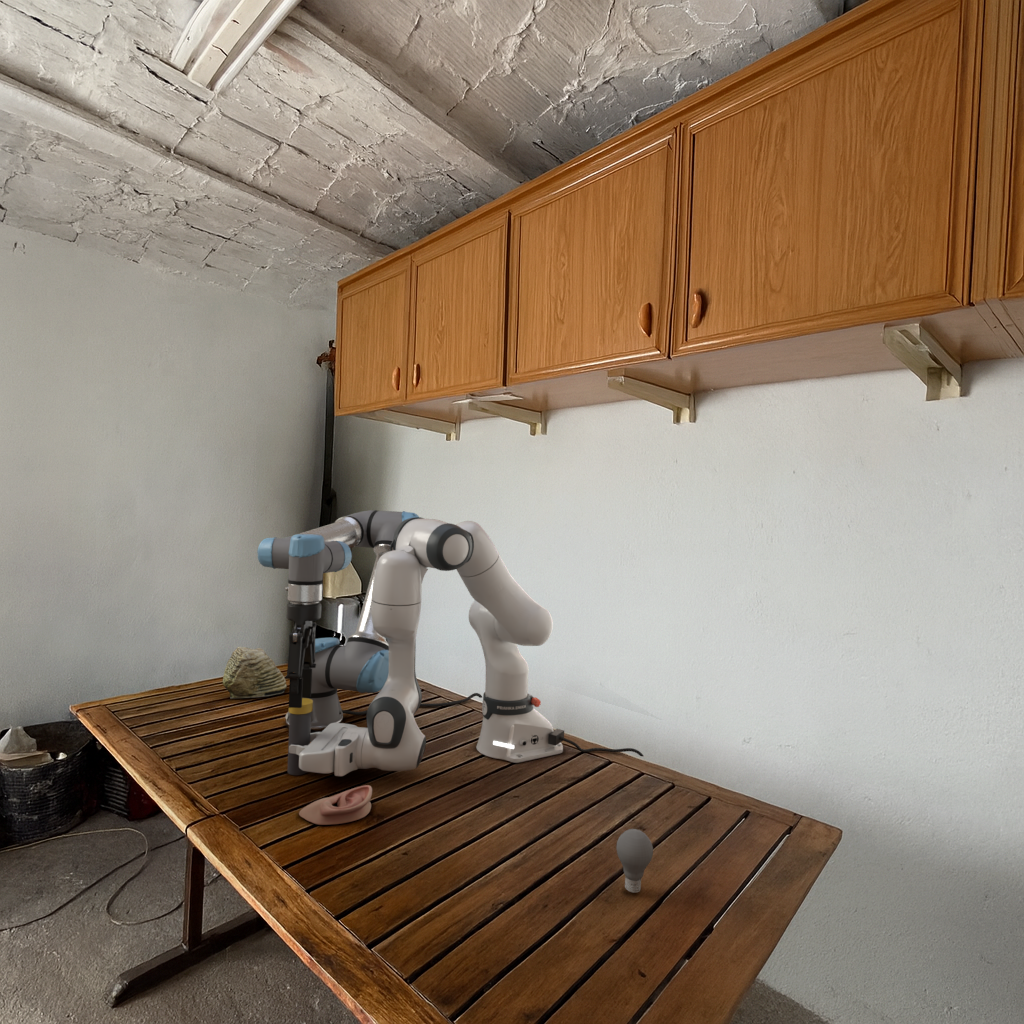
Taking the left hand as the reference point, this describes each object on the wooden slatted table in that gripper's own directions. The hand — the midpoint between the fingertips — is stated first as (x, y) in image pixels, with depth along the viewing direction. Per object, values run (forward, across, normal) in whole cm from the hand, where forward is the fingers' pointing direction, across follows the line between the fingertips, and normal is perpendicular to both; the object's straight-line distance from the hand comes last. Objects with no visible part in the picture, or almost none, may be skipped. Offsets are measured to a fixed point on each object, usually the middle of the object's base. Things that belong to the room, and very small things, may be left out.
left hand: (300, 701), depth 145 cm
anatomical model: (+16, +18, +13) cm, 28 cm away
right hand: (+10, 0, -1) cm, 10 cm away
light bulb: (+16, +43, +67) cm, 82 cm away
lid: (+1, 0, 0) cm, 1 cm away
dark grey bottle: (+16, 0, 0) cm, 16 cm away
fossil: (+16, -54, -28) cm, 63 cm away
